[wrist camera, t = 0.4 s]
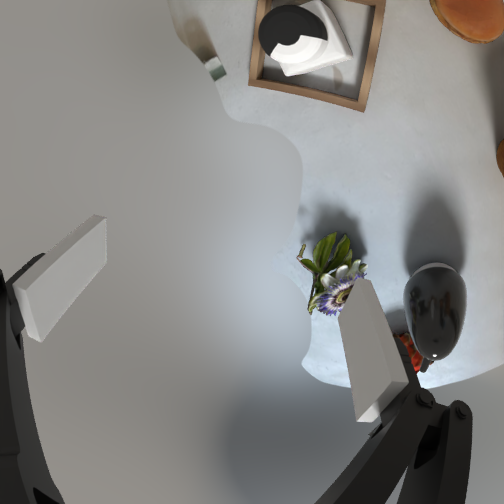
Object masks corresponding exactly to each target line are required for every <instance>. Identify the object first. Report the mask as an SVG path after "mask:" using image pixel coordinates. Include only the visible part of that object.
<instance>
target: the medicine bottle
mask: <svg viewBox="0 0 504 504" xmlns="http://www.w3.org/2000/svg"><path fill="white" fill-rule="evenodd" d="M258 38H259V42H260V45H261V47H262V48H263V50H264V51H265V52H266V53H267V55H269V56H270V57H271V58H273V59H274V60H276V61H279V63H280V65H281V67H282V70H283V72H284V74H285V75H286V76H292V75H299V74H305V73H308V72H311V71H314V70H317V69H320V68H323V67H326V66H329V65H332V64H336V63H339V62H342V61H346V60H349V59H352V58H353V54H352V52H351V49H350V47H349V45H348V43H347V41H346V38H345V36H344V34H343V32H342V30H341V28H340V26H339V24H338V22H337V20H336V18H335V16H334V14H333V12H332V10H331V9H330V8H329V7H327V6H326V5H325V4H324V3H323V2H322V1H320V0H313V1H310V2H307V3H305V4H302V5H299V6H296V5H283V6H279V7H276V8H274V9H272V10H271V11H269V12H268V13H267V14H266V15H265V16H264V17H263V19H262V21H261V23H260V25H259V30H258Z"/></svg>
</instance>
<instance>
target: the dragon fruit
mask: <svg viewBox="0 0 504 504" xmlns="http://www.w3.org/2000/svg"><path fill="white" fill-rule="evenodd" d="M392 335H393V337H395V338H400V339H401V341H402V342H403V343H404V345H405V346H406V348H407V350H408V353H409V357H410V358H411V361H412V364H413V366H414V369H415V372H416V374H417V373H418V372H419V371H420V366H421V363H422V360H423V356H422V355H421V354H420V353H419V352H418V351H417V349H416V348H415V346H414V344H413V342H412V339H411V336H410V334H408V333H405V334H399V335H396V334H392ZM432 363H434V361H431V363H430V365H431V364H432Z"/></svg>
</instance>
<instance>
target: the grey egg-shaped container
mask: <svg viewBox="0 0 504 504" xmlns="http://www.w3.org/2000/svg"><path fill="white" fill-rule="evenodd" d="M403 303H404V311H405V318H406V322H407V326H408V330H409V333H410V336H411V339H412V342H413V344H414V346H415V348H416V349H417V351H418V352H419V353H420V354H421V355H422V356H423V360H422V363H421V366H420V371H421V372H423V373H424V372H426V371H427V369H428V367H429V365H430V363H431V361H437V360H441V359H443V358H445V357H447V356H448V355H449V354H450V353H451V352H452V350H453V349H454V348H455V346H456V344H457V342H458V340H459V338H460V335H461V332H462V329H463V325H464V320H465V315H466V306H467V290H466V285H465V282H464V280H463V278H462V277H461V276H460V275H459V274H458V273H457V272H456V271H455V270H454V269H453V268H452V267H450V266H449V265H446V264H443V263H429V264H426V265H424V266H422V267H420V268H419V269H418V270H416V271H415V272H414V274H413V275H412V276H411V278H410V279H409V281H408V282H407V284H406V286H405V289H404V294H403Z"/></svg>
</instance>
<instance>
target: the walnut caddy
mask: <svg viewBox="0 0 504 504" xmlns="http://www.w3.org/2000/svg"><path fill="white" fill-rule="evenodd" d="M346 1H351V2H355V3H360V4H364V5H369V6H373V7H376V8H375V14H374V20H373V26H372V32H371V38H370V43H369V49H368V54H367V59H366V64H365V69H364V74H363V79H362V84H361V89H360V93H359V98H358V100H355V99H351V98H348V97H344V96H341V95H337V94H333V93H329V92H325V91H321V90H317V89H313V88H309V87H304V86H300V85H295V84H290V83H285V82H280V81H274V80H268V79H262V74H263V66H264V59H265V51H264V50H263V48H262V47H261V45H260V42H259V38H258V30H259V25H260V23H261V21H262V19H263V17H264V16H265V15H266V14H267V13H268V12H269V11H271V5H272V0H258V6H257V14H256V22H255V30H254V38H253V47H252V55H251V64H250V73H249V82H248V86H254V87H260V88H266V89H271V90H276V91H281V92H286V93H291V94H296V95H300V96H305V97H309V98H313V99H317V100H321V101H325V102H329V103H332V104H336V105H340V106H343V107H347V108H350V109H353V110H357V111H360V112H363V113H364V111H365V108H366V104H367V99H368V95H369V90H370V86H371V81H372V77H373V72H374V67H375V62H376V57H377V52H378V47H379V41H380V36H381V30H382V24H383V18H384V12H385V6H386V0H346Z"/></svg>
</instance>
